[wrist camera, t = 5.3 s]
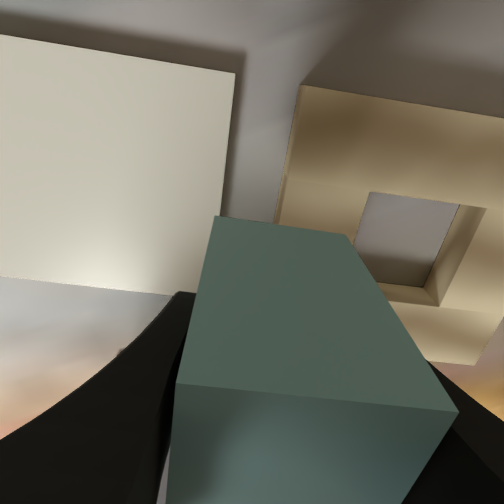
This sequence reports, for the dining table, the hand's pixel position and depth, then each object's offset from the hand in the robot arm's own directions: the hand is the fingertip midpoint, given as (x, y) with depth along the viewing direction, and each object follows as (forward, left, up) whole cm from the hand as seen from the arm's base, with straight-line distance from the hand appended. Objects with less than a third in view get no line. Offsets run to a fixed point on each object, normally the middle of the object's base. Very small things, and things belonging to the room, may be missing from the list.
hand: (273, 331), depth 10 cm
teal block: (0, 0, -3) cm, 3 cm away
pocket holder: (0, -8, -10) cm, 13 cm away
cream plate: (+1, +8, -10) cm, 13 cm away
